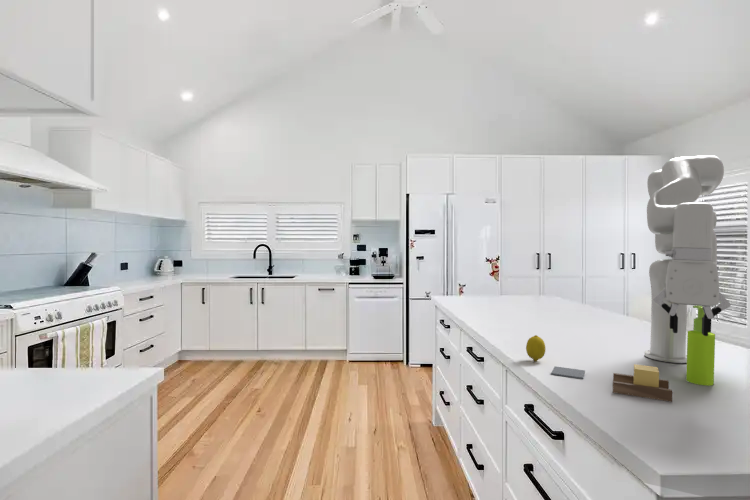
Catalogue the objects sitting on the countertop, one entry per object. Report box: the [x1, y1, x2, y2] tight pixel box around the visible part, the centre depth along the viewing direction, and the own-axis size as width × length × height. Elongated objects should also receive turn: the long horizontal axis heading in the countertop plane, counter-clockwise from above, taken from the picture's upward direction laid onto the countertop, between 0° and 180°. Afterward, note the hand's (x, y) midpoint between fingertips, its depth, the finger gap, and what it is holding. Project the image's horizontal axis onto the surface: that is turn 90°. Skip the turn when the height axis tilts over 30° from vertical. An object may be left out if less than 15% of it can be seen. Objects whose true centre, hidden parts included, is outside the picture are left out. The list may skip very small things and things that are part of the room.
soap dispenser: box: [685, 305, 716, 387], centre depth 119 cm, size 6×7×20 cm
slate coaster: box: [550, 366, 586, 380], centre depth 124 cm, size 8×8×1 cm
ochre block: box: [633, 363, 660, 388], centre depth 109 cm, size 5×5×6 cm
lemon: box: [525, 334, 546, 362], centre depth 137 cm, size 6×6×8 cm
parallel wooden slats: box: [612, 372, 673, 403], centre depth 110 cm, size 9×12×2 cm
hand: (689, 332), depth 105 cm, fingers open, 5 cm apart
